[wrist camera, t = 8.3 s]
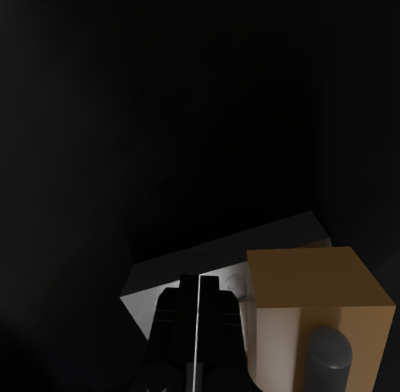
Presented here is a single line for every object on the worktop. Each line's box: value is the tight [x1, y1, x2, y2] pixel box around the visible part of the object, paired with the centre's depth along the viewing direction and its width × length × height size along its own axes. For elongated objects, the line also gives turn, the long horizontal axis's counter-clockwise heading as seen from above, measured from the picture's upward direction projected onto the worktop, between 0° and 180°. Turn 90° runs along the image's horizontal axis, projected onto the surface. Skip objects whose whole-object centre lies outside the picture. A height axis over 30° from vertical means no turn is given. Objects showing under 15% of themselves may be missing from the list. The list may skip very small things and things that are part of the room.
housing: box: [120, 210, 332, 392], centre depth 17 cm, size 22×10×3 cm, turn 22°
